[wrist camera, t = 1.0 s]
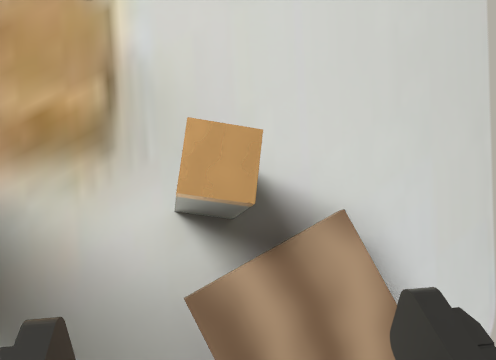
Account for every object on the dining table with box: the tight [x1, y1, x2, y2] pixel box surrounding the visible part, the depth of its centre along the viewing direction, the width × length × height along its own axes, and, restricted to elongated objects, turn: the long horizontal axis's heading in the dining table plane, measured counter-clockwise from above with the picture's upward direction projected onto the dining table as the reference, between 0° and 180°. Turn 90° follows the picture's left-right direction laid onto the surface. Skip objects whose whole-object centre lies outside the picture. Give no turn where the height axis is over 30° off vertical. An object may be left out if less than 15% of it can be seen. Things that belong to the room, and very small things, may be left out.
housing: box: [175, 117, 263, 219], centre depth 33 cm, size 5×5×10 cm
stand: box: [184, 210, 397, 360], centre depth 34 cm, size 14×14×5 cm
